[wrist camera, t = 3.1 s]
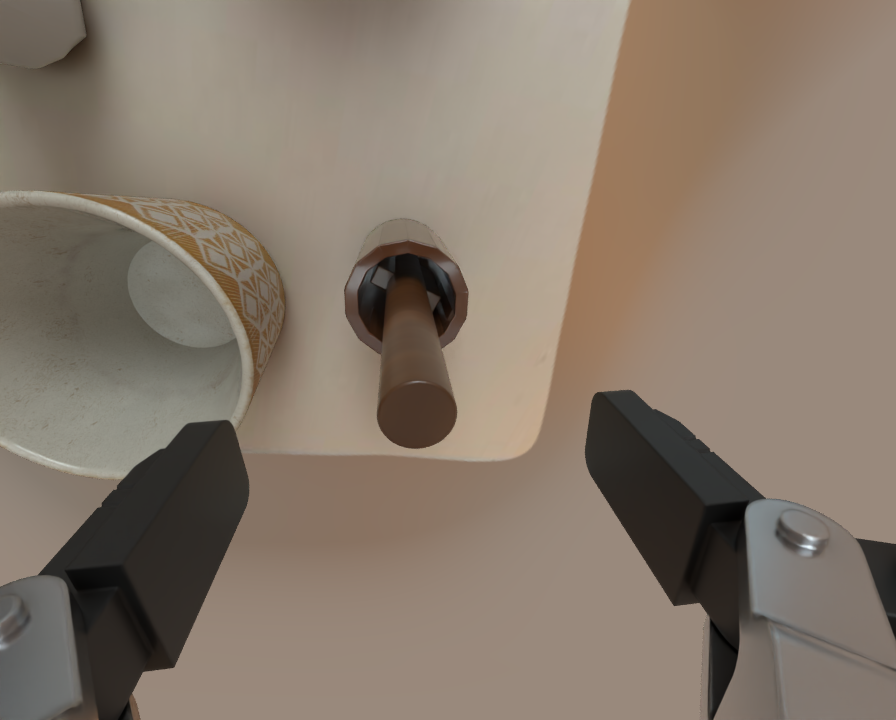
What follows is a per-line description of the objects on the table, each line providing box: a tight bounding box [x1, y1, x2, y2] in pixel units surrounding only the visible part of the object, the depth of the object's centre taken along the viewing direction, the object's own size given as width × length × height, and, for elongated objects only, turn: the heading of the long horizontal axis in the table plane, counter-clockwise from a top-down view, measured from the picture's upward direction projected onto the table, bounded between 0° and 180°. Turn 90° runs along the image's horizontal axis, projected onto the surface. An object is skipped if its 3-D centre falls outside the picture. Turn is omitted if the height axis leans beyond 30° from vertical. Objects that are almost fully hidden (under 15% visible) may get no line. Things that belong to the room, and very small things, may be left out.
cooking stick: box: [370, 254, 457, 449], centre depth 18 cm, size 4×2×18 cm, turn 61°
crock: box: [344, 219, 468, 354], centre depth 23 cm, size 6×6×9 cm
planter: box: [0, 190, 285, 480], centre depth 22 cm, size 13×13×10 cm
